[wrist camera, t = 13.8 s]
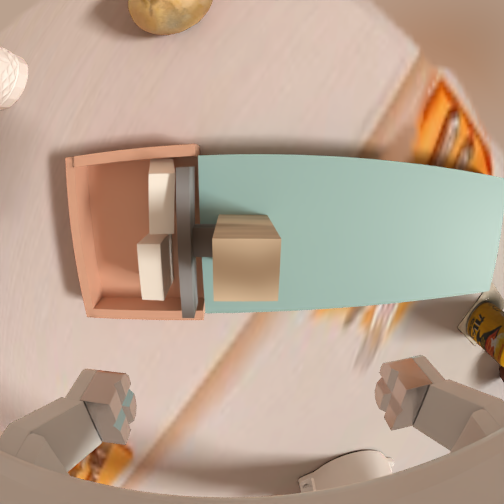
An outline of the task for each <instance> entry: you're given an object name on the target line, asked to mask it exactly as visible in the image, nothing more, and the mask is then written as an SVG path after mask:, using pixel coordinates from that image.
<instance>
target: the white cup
mask: <svg viewBox="0 0 504 504" xmlns="http://www.w3.org/2000/svg"><path fill="white" fill-rule="evenodd" d="M27 79H28V65H27V63H26V62H25V60H24V59H23V58H21V57H19V56H17V55H15V54H13V53H11V52H10V51H8V50H7V49H4V48H2V47H1V46H0V110H3V109H6V108H9V107H11V106H12V105H13V104H14V103H15V102H16V101H17V100H18V99H19V98H20V96H21V94H22V92H23V91H24V89H25V86H26V83H27Z"/></svg>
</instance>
